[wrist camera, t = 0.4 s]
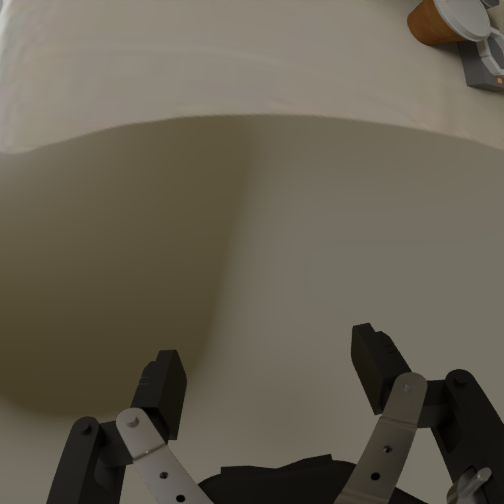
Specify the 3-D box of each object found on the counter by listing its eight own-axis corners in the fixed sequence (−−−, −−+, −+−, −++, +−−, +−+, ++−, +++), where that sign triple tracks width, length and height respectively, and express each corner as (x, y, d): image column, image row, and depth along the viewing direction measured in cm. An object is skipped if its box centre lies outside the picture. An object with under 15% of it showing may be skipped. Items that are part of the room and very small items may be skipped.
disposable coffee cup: (412, -5, 27) (451, -31, 16) (453, 35, 29) (498, 20, 18) (388, 22, 30) (429, -6, 18) (432, 65, 32) (481, 52, 21)
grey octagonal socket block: (450, 22, 28) (474, 12, 22) (482, 33, 28) (505, 26, 22) (466, 85, 33) (493, 82, 26) (495, 92, 32) (521, 90, 26)
